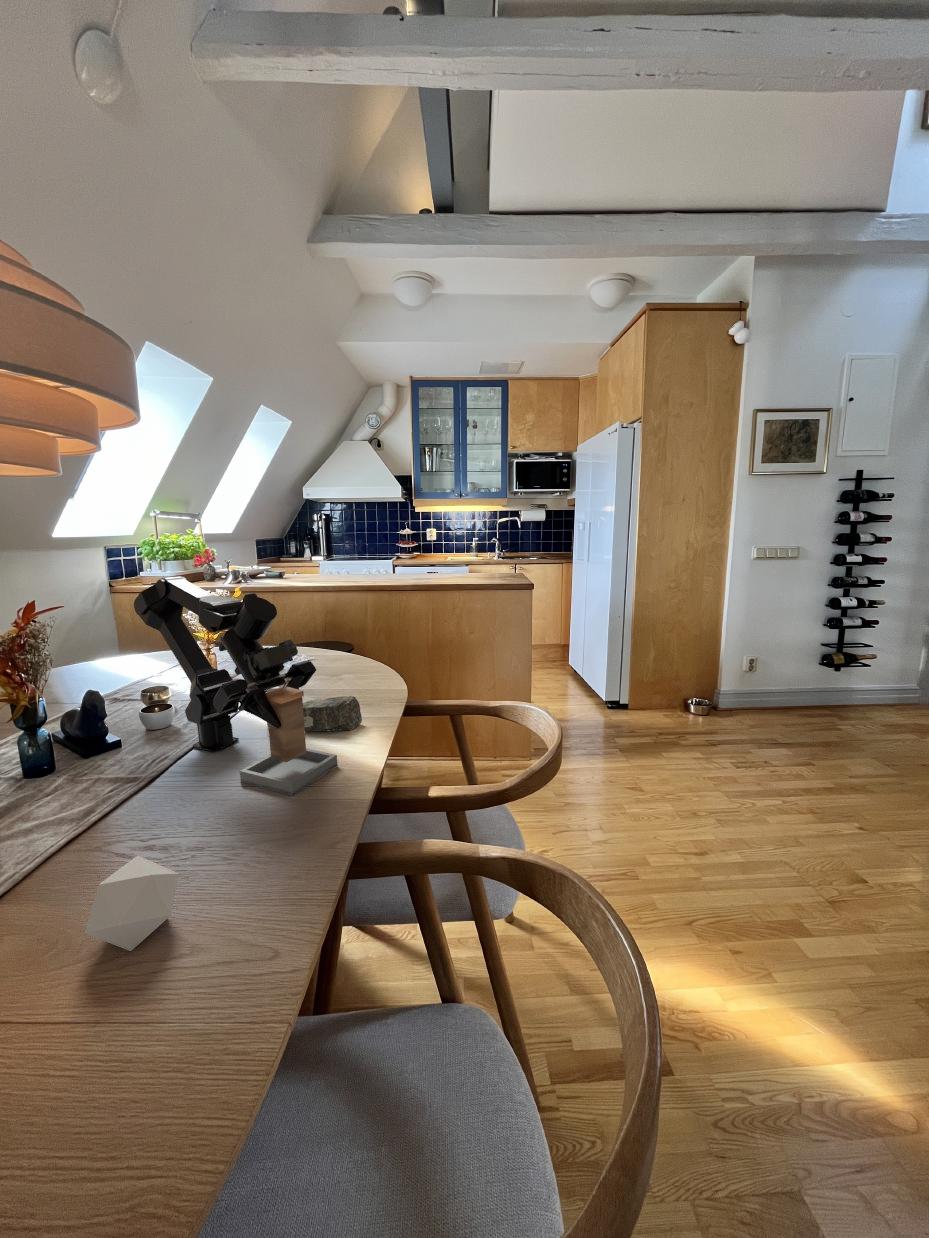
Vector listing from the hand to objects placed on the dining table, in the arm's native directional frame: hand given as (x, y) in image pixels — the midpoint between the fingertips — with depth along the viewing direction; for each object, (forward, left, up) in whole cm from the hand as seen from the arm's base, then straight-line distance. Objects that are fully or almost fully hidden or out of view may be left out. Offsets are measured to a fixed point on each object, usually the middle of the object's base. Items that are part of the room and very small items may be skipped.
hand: (290, 722), depth 93 cm
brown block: (-1, 0, -7) cm, 7 cm away
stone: (-9, +20, -11) cm, 25 cm away
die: (+10, -36, -11) cm, 39 cm away
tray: (-1, 0, -10) cm, 10 cm away
